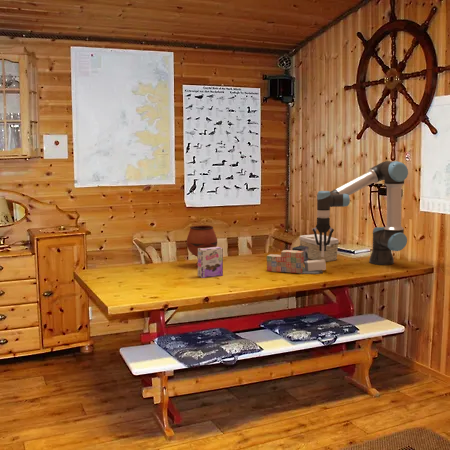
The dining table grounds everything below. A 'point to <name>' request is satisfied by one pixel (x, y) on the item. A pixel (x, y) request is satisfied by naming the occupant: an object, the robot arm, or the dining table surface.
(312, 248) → the storage basket
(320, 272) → the pad
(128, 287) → the dining table surface
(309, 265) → the tall block
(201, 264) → the candy box
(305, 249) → the small box
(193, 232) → the terracotta clay vase
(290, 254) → the stack of blocks
